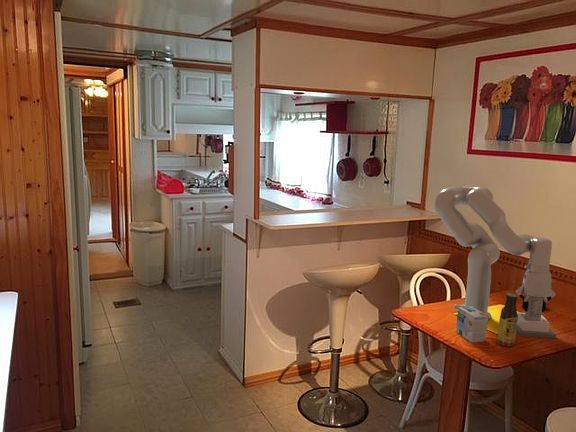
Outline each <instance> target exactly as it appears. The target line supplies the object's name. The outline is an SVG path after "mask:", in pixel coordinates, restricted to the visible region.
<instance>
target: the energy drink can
mask: <svg viewBox="0 0 576 432" xmlns="http://www.w3.org/2000/svg"><path fill="white" fill-rule="evenodd" d="M527 302H528V309H527V311H525V310H524V313H525V318H524V319H525V320H527V321H541V315H542V313H543V312H542V305H543V297H541V294H535V296H533V297H532V296H530V297H529V298H528V300H527Z"/></svg>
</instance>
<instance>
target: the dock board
mask: <svg viewBox="0 0 576 432" xmlns="http://www.w3.org/2000/svg"><path fill="white" fill-rule="evenodd" d="M517 315H518V321H517V328H516V335H518V336H519V337H530V338H531V337H532V338H545V339H556V338H557V337H556V336H557V334H556V333H555V332H554V331H553V330H552V329H551V328H550V326H551V322H550V321H549V320H548V319H546V318H545V317H544V315H543V314H541V321H527V320H525V319H524V318H525V312H518V311H517Z"/></svg>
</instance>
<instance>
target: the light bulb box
mask: <svg viewBox="0 0 576 432" xmlns="http://www.w3.org/2000/svg"><path fill="white" fill-rule="evenodd" d="M488 322H489V319H488V315H487V314H485V313H483V312H481V311H480V310H478V309H476V308H474V307H473V306H467V307H458V309H457V316H456V326H455V332H456V333H457V334H458V335H460V336H461V337H463V338H464V339H465V340H467V341H469V343H480V342H481V343H482V342H486V336H487V329H488V328H487V327H488Z"/></svg>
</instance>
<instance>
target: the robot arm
mask: <svg viewBox="0 0 576 432" xmlns="http://www.w3.org/2000/svg"><path fill="white" fill-rule="evenodd" d="M435 197H436V198H435V199H434V209H435V212H436V214H437V216H438V217H439V219H440V220H441V221H442V223H444V225H445V227H446V228H447V229H448V230H449V232H450V233H451V235H452V236H453V238H454V239H455V240H456V241H457V243H458V244H459V245H460V246H462V247H464V248H465V247H467V248H468V247H471V248H472V249H471V250H470V251H469V253H468V256H467V281H466V290H465V291H466V293H465V302H462V303H461V304H453V309H454V310H458V307H467V306H473V307H474V308H476V309H478V310H480V311H481V312H483V313H485V314H487V315H488V320H490V319H491V317H492V315H491V312H489V303H490V301H489V300H490V292H491V282H492V264H494V263H495V262H497V261H498V260H499V259H500V256H501V252H500V248H499V247H498V245H497V243H496V242H495V241H494V239H495V240H496V241H497V242H498V243H499V245H501V247H503V249H504V250H506V251H507V252H508V254H511V255H513V256H521V255H523V254H525V253H529V258H528V263H527V264H525V265H524V268H525V269H526V270H525V273H524V276H523V279H522V284H521V286H520V287H518V288H517V289H516V290H515V294H516V295H517V296H518V297H520V298H521V300H522V304H521V307H522V308H521V309H522V310H524V312H525V311H527V309H528V302H527V300H528V298H529V297H530V296H532V297H533V296H535V294H541V297H543V305H542V313H545V312H546V311H545V310H546V309H547V304H548V303H549V301H551V300H552V298H554V297H556V295H557V293H556V292H555V291H554V290H553V288H552V273H551V272H550V263H551V255H552V247H553V242H552V240H551V239H550V238H545V237H537V236H534V235H533V236H532V235H530V234H526V233H519V234H518V235H517V233H515V232H514V230H513V229H512V228H511V227H510V226H509V224H508V222H507V219H506V218H507V217H506V213H505V211H504V210H503V209H502V208H501V207H500V206H499V205H498V204H497V203H496V202H495V201H494V200H493V199H494V197H493V193H492V191H491V190H490V189H489V188H487V187H482V186H465V185H464V186H463V185H462V186H460V185H459V186H452V187H446V188H444V189H442V190H440V191H439V192H438V193H437V195H436V196H435ZM456 206H469V207H470V208H471V210H473V211H474V212H475V213H476V215H478V216H479V218H481V219H482V220H483V222H484V223H485V224H486V225H487V226H488V228H489V230H490V232H491V234H492V235H493V237H494V239H493V238H492V237H491V236H490V235H489V233H488V232H487V231H486V229H485V228H484V227H483V226H482V225H480V224H478V223H476V222H475V223H474V222H471V223H470V222H468V220H467V219H466V218H465V217H464V215H463V213H462V212H460V211H459V210H458V209H457V208H456ZM522 293H523V294H522Z"/></svg>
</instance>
